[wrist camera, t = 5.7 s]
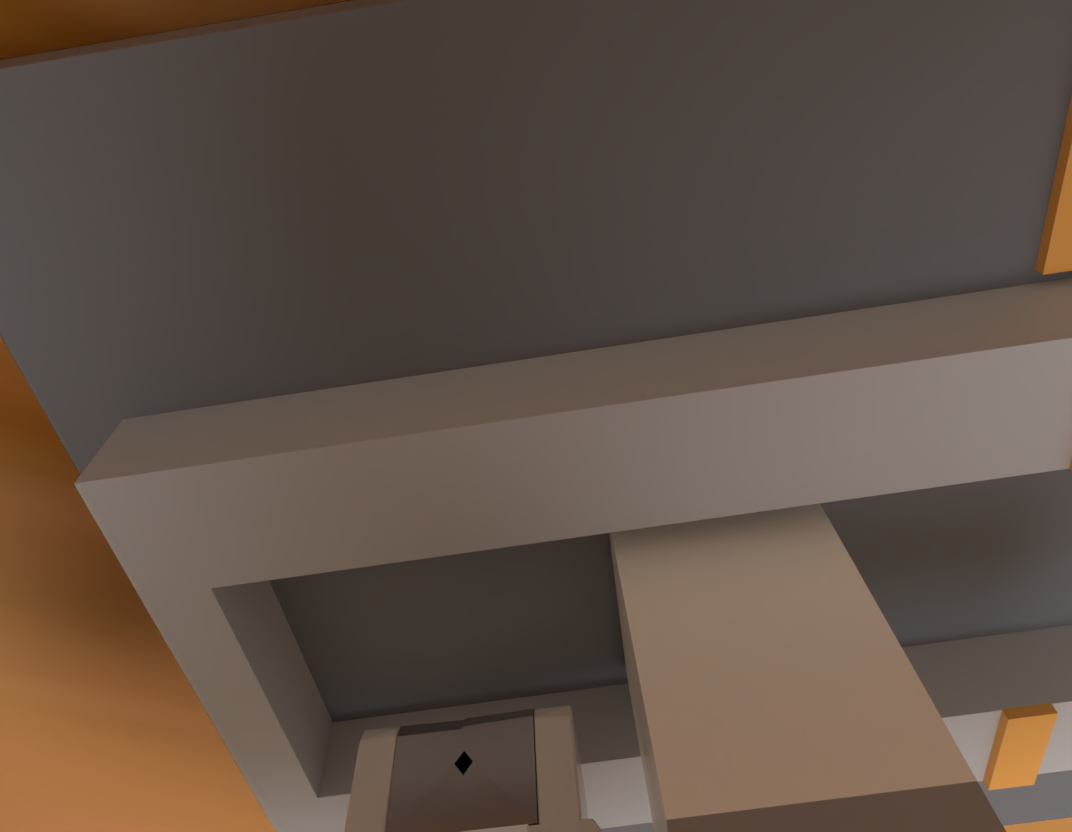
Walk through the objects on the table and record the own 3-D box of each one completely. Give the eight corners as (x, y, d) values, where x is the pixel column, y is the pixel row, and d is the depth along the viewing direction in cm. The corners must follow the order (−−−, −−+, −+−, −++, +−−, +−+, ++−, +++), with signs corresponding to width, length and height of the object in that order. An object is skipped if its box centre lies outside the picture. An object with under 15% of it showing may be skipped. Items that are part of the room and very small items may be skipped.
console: (-34, 65, 10) (-264, 124, 7) (1538, -200, 9) (2051, -265, 6) (341, 824, 20) (312, 992, 17) (1141, 723, 19) (1267, 878, 16)
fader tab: (605, 500, 12) (680, 895, 7) (803, 473, 12) (1018, 854, 7) (626, 674, 14) (696, 1069, 9) (794, 652, 14) (954, 1039, 9)
